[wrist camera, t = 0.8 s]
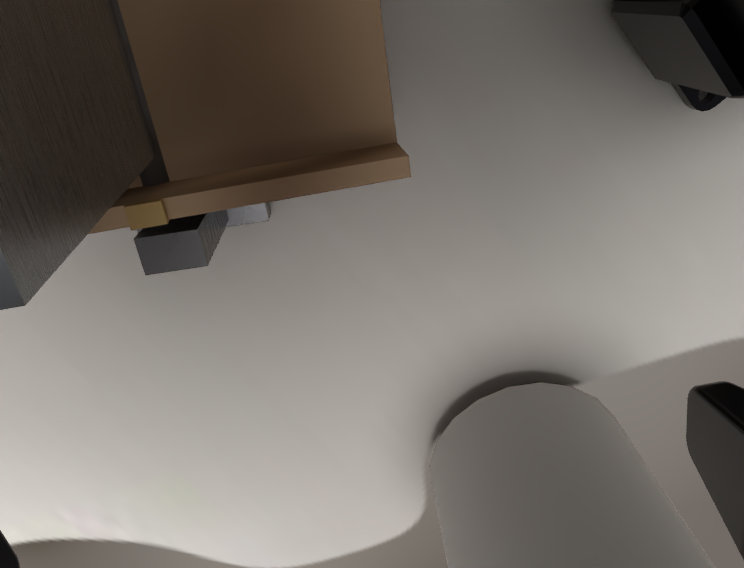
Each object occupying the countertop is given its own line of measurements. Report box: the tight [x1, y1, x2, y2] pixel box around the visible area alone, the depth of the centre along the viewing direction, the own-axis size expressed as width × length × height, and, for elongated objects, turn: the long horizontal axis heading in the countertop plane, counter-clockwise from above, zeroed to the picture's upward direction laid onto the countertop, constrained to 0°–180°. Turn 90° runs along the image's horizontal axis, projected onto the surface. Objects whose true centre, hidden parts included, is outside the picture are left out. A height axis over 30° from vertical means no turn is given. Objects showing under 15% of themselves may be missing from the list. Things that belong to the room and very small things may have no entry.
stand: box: [134, 202, 271, 275], centre depth 15 cm, size 4×11×4 cm, turn 8°
